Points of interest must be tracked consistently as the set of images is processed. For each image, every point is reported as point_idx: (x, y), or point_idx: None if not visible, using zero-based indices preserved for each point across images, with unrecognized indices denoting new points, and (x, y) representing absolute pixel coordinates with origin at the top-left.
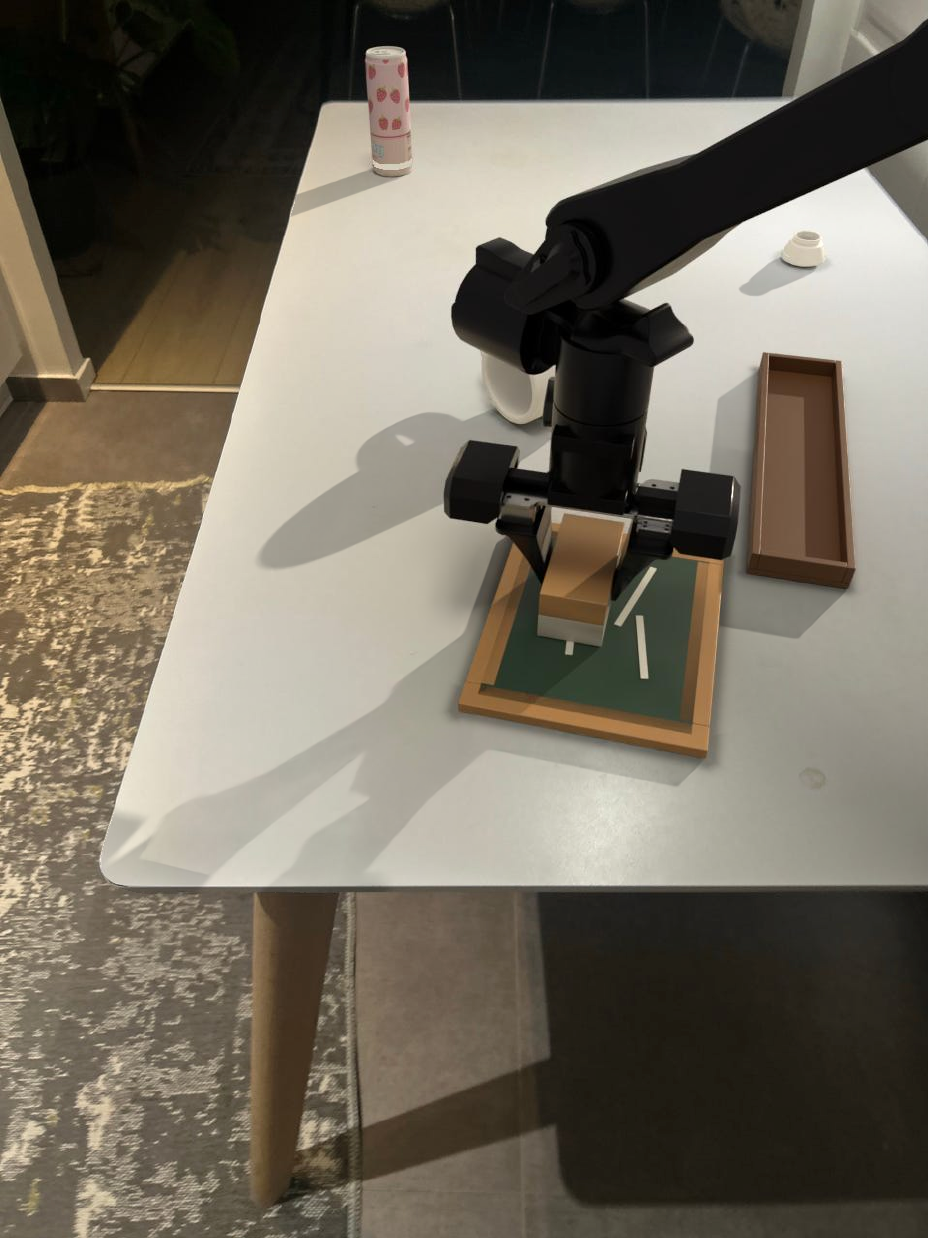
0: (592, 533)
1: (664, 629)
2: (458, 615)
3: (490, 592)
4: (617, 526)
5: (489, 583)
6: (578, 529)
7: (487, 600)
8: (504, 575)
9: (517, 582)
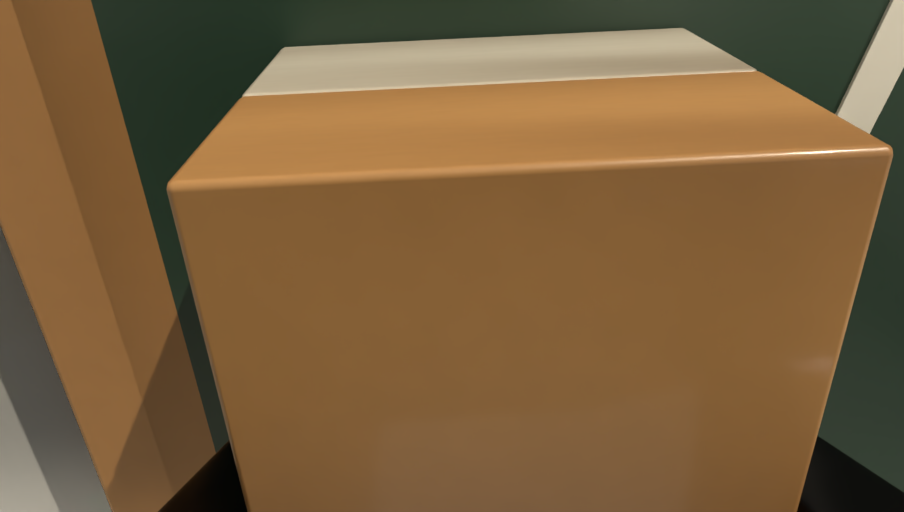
0: (550, 409)
1: (897, 424)
2: (3, 498)
3: (47, 352)
4: (800, 241)
5: (5, 300)
6: (404, 387)
7: (64, 399)
8: (48, 315)
9: (142, 345)
